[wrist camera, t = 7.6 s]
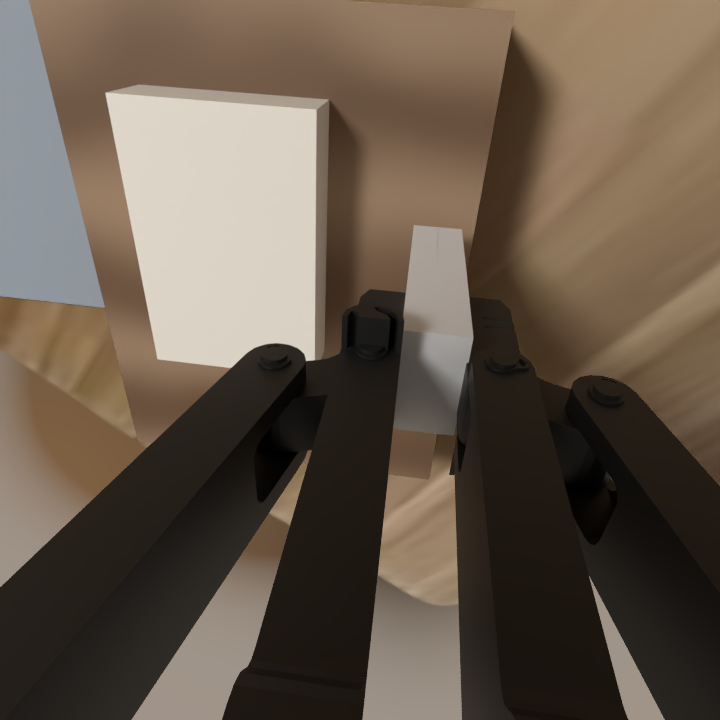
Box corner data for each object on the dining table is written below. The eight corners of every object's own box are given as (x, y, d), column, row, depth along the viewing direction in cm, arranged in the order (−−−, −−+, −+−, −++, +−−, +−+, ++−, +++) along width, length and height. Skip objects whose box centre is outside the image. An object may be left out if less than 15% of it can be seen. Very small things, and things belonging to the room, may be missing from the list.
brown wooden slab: (98, -15, 18) (23, -21, 15) (500, 11, 17) (514, 11, 14) (172, 391, 28) (138, 441, 25) (430, 423, 27) (428, 479, 24)
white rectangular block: (139, 84, 16) (105, 92, 15) (329, 99, 16) (316, 109, 14) (179, 332, 21) (157, 359, 20) (324, 348, 21) (314, 378, 19)
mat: (-188, -34, 19) (-196, -34, 19) (98, -15, 18) (93, -16, 18) (-51, 287, 26) (-56, 289, 26) (158, 310, 26) (155, 313, 25)
